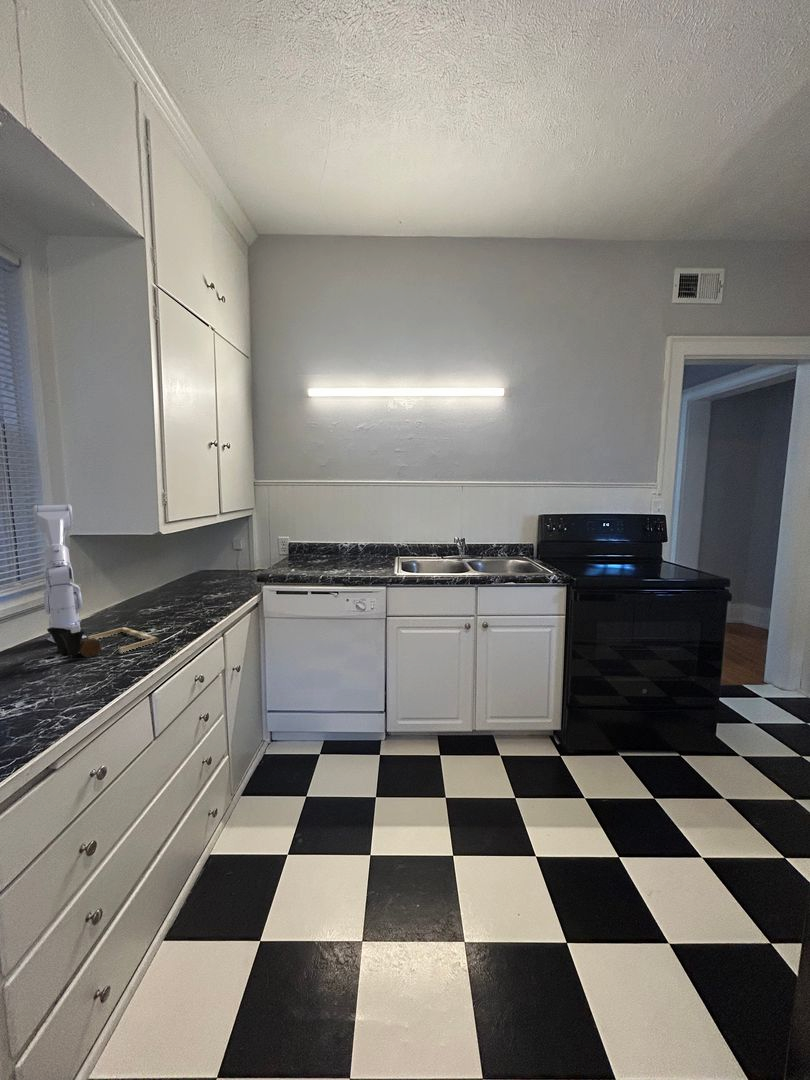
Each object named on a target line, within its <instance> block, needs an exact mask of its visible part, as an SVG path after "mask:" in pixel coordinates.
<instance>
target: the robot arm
mask: <svg viewBox="0 0 810 1080" xmlns="http://www.w3.org/2000/svg"><path fill="white" fill-rule="evenodd" d="M32 512H33V513H32V514H33V521H34V524H35V528H36V529H37V532H39V533H42V534H45V536H46V537H47V541H48V547H46V548H45V549H44V555H45V556H44V557H45V559H44V560H45V568H46V569H44V580H45V581H44V582H45V585H46V589H45V590H44V592H43V595H44V597H43V602H44V610H45V613H46V614H47V615H49V618H48V628H47V629H46V631H47V632H48V633H49V635H50V636H49V637H47V638H46V639H47V641H50V642H52V643H54V644H55V646H56V649H57V650H58V651H59V652H62V651H65V650H66V651H67V654H68V655H69V657H72V656H75V655H79V653H80V652H79V651H78V650H79V646H80V641H81V638H83V639H86V638H88V636H86V635H84V634H85V629H83V628H81V622H82V619H81V618H80V614H79V613H80V610H82V609H83V607H84V606H83V598H82V592H81V587H80V586H79V585H78V584H76V583H74V582H75V580H74V571H73V569H74V568H73V567H72V562H71V561H70V549H69V548H68V547H67V546H66V540H65V539H66V538H65V537H66V535H67V533H68V532H69V531H71V530H73V527H74V523H73V522H74V517H73V507H72V505H71V504H70V503H67V504H48V505H47V504H45V505H36V504H35V505H34V506H33V507H32ZM71 580H72V581H71Z"/></svg>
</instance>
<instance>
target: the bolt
mask: <svg viewBox="0 0 810 1080" xmlns="http://www.w3.org/2000/svg"><path fill="white" fill-rule="evenodd" d="M101 649H102V644H101V643H100V641H99V639H95V638H91V639H85V638H81V641H80V646H79V650H78V651H79V652H78V653H80V654H81V656H83V657H84V658H85V657H86V659H88V657H89V658H92V656H93V657H95V655H96V656H98V654H99V653H100V651H101Z"/></svg>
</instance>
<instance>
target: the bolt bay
mask: <svg viewBox="0 0 810 1080" xmlns="http://www.w3.org/2000/svg"><path fill="white" fill-rule="evenodd" d="M120 632H124V633H123V634H125V633H127V634H126V635H128V634H130V635H129V636H131V635H133V636H132V637H134V636H136V637H135V638H137V637H139V638H138V639H140V638H142V639H141V640H142V641H137V642H135V643H131V644H128V645H124V646H119V647H118V653H119V654H124V653H127V652H126V651H128V652H130V651H129V650H131V651H133V650H132V649H134V650H137V649H136V648H138V647H141V648H143V647H142V646H144V647H146V646H145V645H148V644H151V645H153V644H152V643H154V644H156V643H155V642H157V643H159V638H158V637H157V636H154V635H150V634H147V633H144V632H141V631H139V630H134V629H131V628H128V627H125V626H123V627H118V628H114V629H111V630H107V631H104V632H100V633H99V632H98V633H95V634H91V635H88V636H87V638H88V639H91V638H95V639H97V640H100V639H99V638H101V639H103V637H105V638H108V636H109V637H111V635H112V636H115V635H114V634H116V635H119V634H118V633H120ZM120 634H121V633H120ZM143 639H145V640H143ZM148 646H149V645H148ZM138 649H139V648H138ZM123 652H124V653H123Z"/></svg>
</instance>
